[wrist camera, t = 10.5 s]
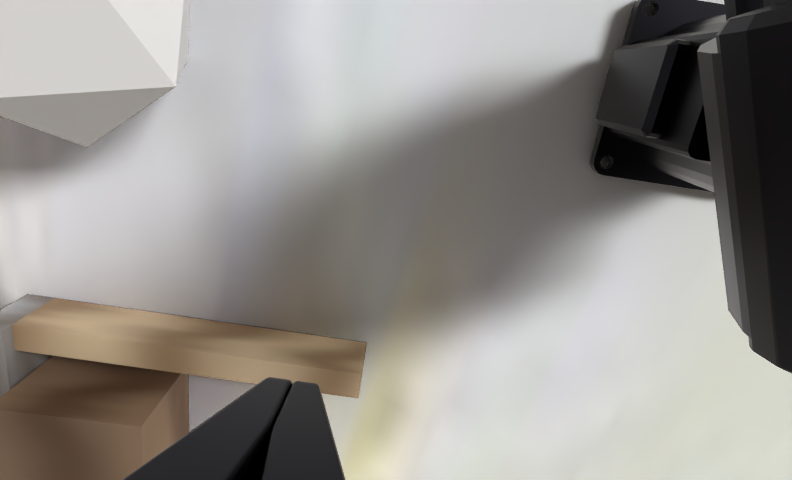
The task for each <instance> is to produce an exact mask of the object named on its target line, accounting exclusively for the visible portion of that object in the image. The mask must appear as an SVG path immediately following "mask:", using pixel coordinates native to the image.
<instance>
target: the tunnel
mask: <svg viewBox="0 0 792 480" xmlns="http://www.w3.org/2000/svg"><path fill="white" fill-rule="evenodd" d="M366 344H367V343H365V342H358V341H351V340H344V339H337V338H330V337H323V336H316V335H309V334H302V333H295V332H288V331H281V330H274V329H267V328H260V327H253V326H246V325H239V324H232V323H225V322H218V321H211V320H204V319H197V318H190V317H183V316H176V315H169V314H162V313H155V312H148V311H141V310H134V309H127V308H120V307H113V306H106V305H99V304H92V303H85V302H78V301H71V300H64V299H57V298H50V297H43V296H36V295H29V294H27V295H26V296H24V297H22V298H20V299H19V300H17V301H15V302H13V303H12V304H10V305H8V306H6V307H5V308H3V309H1V310H0V397H1V396H3V395H4V394H5V393H7V392H8V391H9V390H10V389H12V388H13V387H14V386H15V385H17V384H18V383H19V382H20V381H22V380H23V379H24V378H25V377H27V376H28V375H29V374H30V373H32V372H33V371H34V370H36V369H37V368H38V367H39V366H41V365H42V364H43V363H44V362H46V361H47V360H48V359H49V358H51V357H52V356H60V357H67V358H74V359H81V360H88V361H95V362H103V363H110V364H117V365H124V366H131V367H138V368H145V369H153V370H160V371H167V372H174V373H181V374H188V375H195V376H203V377H210V378H217V379H224V380H231V381H238V382H245V383H253V384H258V383H260V382H261V381H263V380H264V379H266V378H268V377H274V378H281V379H288V380H291V381H292V384H293V383H294V382H296V381H302V382H309V383H316V384H318V386H319V387H320V391H321V393H324V394H331V395H338V396H346V397H353V398H358V397H359V390H360V384H361V377H362V371H363V364H364V357H365V351H366Z"/></svg>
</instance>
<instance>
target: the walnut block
mask: <svg viewBox="0 0 792 480" xmlns="http://www.w3.org/2000/svg"><path fill="white" fill-rule="evenodd" d="M188 433H189V382H188V374H181V373H174V372H167V371H160V370H153V369H145V368H138V367H131V366H124V365H117V364H110V363H103V362H95V361H88V360H81V359H74V358H67V357H60V356H52V357H51V358H49V359H48V360H47V361H46V362H44V363H43V364H42V365H41V366H39V367H38V368H37V369H36V370H34V371H33V372H32V373H30V374H29V375H28V376H27V377H25V378H24V379H23V380H22V381H20V382H19V383H18V384H17V385H15V386H14V387H13V388H12V389H10V390H9V391H8V392H7V393H5V394H4V395H3V396H1V397H0V480H123V479H124V478H125V477H127V476H128V475H130V474H131V473H133V472H134V471H135V470H137V469H138V468H140V467H141V466H142V465H144V464H145V463H147V462H148V461H149V460H151V459H152V458H154V457H155V456H157V455H158V454H159V453H161V452H162V451H164V450H165V449H166V448H168V447H169V446H171V445H172V444H174V443H175V442H176V441H178V440H179V439H181V438H182V437H183V436H185V435H186V434H188Z"/></svg>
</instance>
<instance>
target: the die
mask: <svg viewBox="0 0 792 480" xmlns="http://www.w3.org/2000/svg"><path fill="white" fill-rule="evenodd" d="M189 22H190V0H0V116H1V117H4V118H6V119H9V120H12V121H15V122H18V123H20V124H23V125H26V126H29V127H32V128H34V129H37V130H40V131H43V132H46V133H48V134H51V135H54V136H57V137H60V138H62V139H65V140H68V141H71V142H74V143H76V144H79V145H82V146H85V147H88V146H90V145H91V144H93V143H94V142H96V141H97V140H99V139H100V138H102V137H103V136H104V135H106V134H107V133H109V132H110V131H112V130H113V129H115V128H116V127H118V126H119V125H120V124H122V123H123V122H125V121H126V120H128V119H129V118H131V117H132V116H134V115H135V114H137V113H138V112H139V111H141V110H142V109H144V108H145V107H147V106H148V105H150V104H151V103H153V102H154V101H155V100H157V99H158V98H160V97H161V96H163V95H164V94H166V93H167V92H169V91H170V90H172V89H173V88H174V87H176V85H177V83H178V80H179V78H180V76H181V73H182V71H183V69H184V66H185V64H186V62H187V60H188V57H189Z"/></svg>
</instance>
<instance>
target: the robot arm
mask: <svg viewBox="0 0 792 480" xmlns="http://www.w3.org/2000/svg"><path fill="white" fill-rule="evenodd" d="M647 3H650V4H652V6H653V13H652V15H651V16H650V17H648V16H646V15H645V13H644V8H645V6H646V4H647ZM724 3H725V5H723V4H717V3H711V2H704V1H698V0H638V1H637V2H636V3H635V5H634V7H633V9H632V13H631V16H630V20H629V24H628V27H627V31H626V34H625V38H624V41H623V45H622V46H621V47H620V48H619V49H617V50H616V51H614V53H613V57H612V61H611V64H610V68H609V71H608V75H607V79H606V82H605V86H604V89H603V93H602V97H601V100H600V104H599V108H598V111H597V115H596V119H597V121H598V123H599V124H600V127H599V130H598V134H597V138H596V141H595V145H594V148H593V152H592V155H591V159H590V165H591V168H592V169H593V170H594V171H595V172H597V173H599V174H602V175H607V176H613V177H620V178H626V179H633V180H639V181H646V182H652V183H659V184H665V185H672V186H678V187H685V188H691V189H698V190H704V191H711V192H714V195H715V203H716V211H717V219H718V228H719V236H720V244H721V252H722V261H723V269H724V277H725V285H726V294H727V302H728V310H729V312H730V313H731V315H732V316H733V317H734V319H735V320H736V322H737V323H738V325H739V326H740V328H741V329H742V331H743V332H744V333H745V334H747V335H748V336H749V345H750V348H751V349H752V350H753V351H754V352H756V353H757V354H759V355H760V356H762V357H763V358H765V359H766V360H768V361H769V362H771V363H773V364H774V365H776V366H777V367H779V368H781V369H783V370H786V371H788V372H790V373H792V0H724ZM605 156H608V157H609V163H608V165H606V166H605V167H601V165H600V161H601V159H602V158H603V157H605ZM123 480H345V477H344V473H343V470H342V466H341V462H340V459H339V455H338V452H337V448H336V445H335V441H334V437H333V434H332V430H331V427H330V423H329V420H328V416H327V412H326V409H325V405H324V402H323V398H322V394H321V391H320V387H319V386H318V384H316V383H309V382H302V381H296V382H294V383H293V384H292V381H291V380H288V379H281V378H274V377H268V378H266V379H264V380H263V381H261V382H260V383H258V384H257V385H256V386H254V387H253V388H251V389H250V390H249V391H247V392H246V393H244V394H243V395H241V396H240V397H239V398H237V399H236V400H234V401H233V402H232V403H230V404H229V405H227V406H226V407H224V408H223V409H222V410H220V411H219V412H217V413H216V414H215V415H213V416H212V417H210V418H209V419H208V420H206V421H205V422H203V423H202V424H200V425H199V426H198V427H196V428H195V429H193V430H192V431H191V432H189V433H188V434H186V435H185V436H183V437H182V438H181V439H179V440H178V441H176V442H175V443H174V444H172V445H171V446H169V447H168V448H166V449H165V450H164V451H162V452H161V453H159V454H158V455H157V456H155V457H154V458H152V459H151V460H149V461H148V462H147V463H145V464H144V465H142V466H141V467H140V468H138V469H137V470H135V471H134V472H133V473H131V474H130V475H128V476H127V477H125V478H124V479H123Z"/></svg>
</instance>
